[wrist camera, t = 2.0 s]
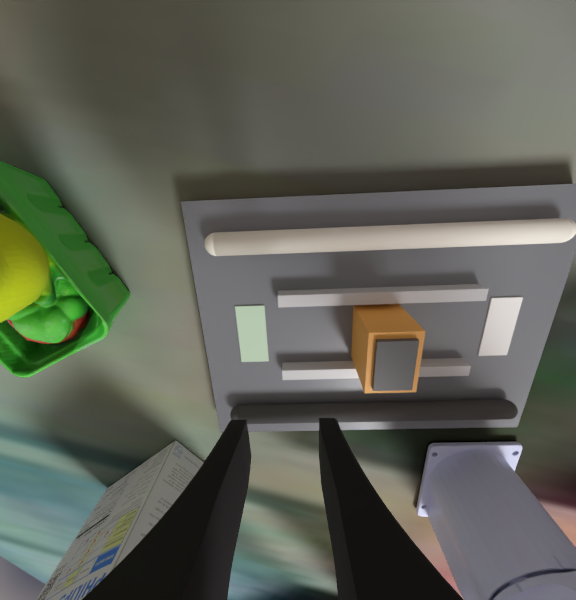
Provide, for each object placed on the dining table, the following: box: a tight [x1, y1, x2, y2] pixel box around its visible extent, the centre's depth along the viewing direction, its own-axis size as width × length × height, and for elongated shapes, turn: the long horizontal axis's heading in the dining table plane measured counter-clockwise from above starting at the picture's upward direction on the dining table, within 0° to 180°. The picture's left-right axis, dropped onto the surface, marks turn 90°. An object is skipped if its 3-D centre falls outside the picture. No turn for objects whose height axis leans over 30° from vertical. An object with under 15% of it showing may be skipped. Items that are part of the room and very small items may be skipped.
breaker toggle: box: [351, 304, 425, 393], centre depth 17 cm, size 4×3×4 cm
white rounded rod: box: [204, 218, 576, 256], centre depth 16 cm, size 1×21×1 cm, turn 92°
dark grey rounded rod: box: [230, 399, 518, 424], centre depth 21 cm, size 1×21×1 cm, turn 92°
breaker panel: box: [181, 184, 576, 432], centre depth 19 cm, size 18×24×2 cm
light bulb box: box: [36, 440, 204, 600], centre depth 22 cm, size 11×7×11 cm, turn 130°
